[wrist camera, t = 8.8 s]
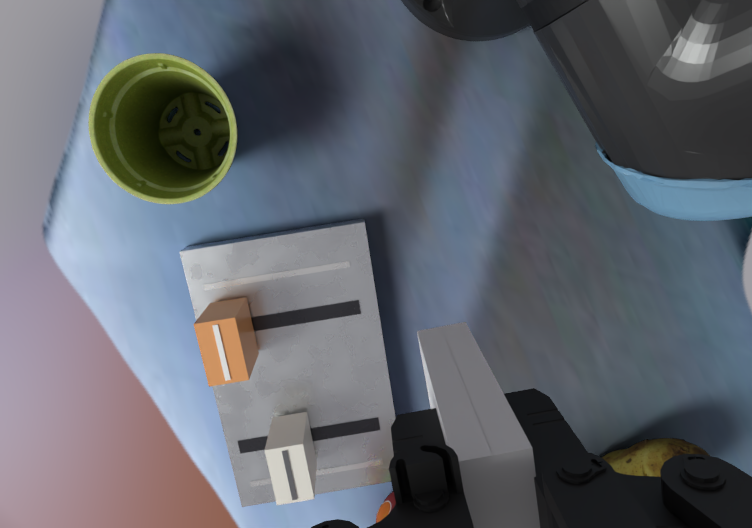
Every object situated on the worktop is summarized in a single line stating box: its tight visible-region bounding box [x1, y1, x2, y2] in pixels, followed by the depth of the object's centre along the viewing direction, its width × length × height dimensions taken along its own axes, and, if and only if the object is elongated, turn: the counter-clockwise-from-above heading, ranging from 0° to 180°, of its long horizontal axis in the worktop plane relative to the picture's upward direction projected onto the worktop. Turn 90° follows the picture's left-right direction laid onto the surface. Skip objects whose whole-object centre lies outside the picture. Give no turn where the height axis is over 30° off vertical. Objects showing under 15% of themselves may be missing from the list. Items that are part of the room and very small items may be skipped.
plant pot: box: [89, 53, 238, 204], centre depth 39 cm, size 9×9×9 cm
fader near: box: [194, 297, 259, 387], centre depth 42 cm, size 3×5×5 cm, turn 9°
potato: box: [602, 438, 710, 477], centre depth 49 cm, size 8×13×8 cm, turn 118°
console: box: [180, 218, 396, 507], centre depth 47 cm, size 15×24×2 cm, turn 9°
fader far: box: [265, 412, 317, 505], centre depth 45 cm, size 3×5×5 cm, turn 9°
